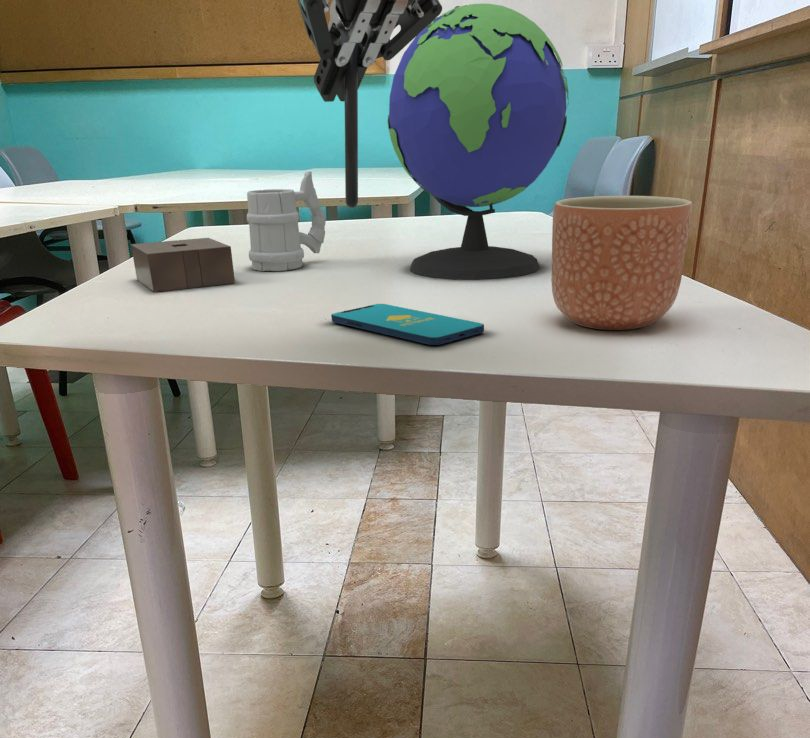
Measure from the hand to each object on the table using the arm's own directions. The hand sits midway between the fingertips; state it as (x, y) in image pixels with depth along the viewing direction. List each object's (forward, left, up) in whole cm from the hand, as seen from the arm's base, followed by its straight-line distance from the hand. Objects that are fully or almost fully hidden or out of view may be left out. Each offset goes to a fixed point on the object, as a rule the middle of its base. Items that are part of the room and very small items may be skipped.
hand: (331, 93), depth 69 cm
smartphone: (+5, -2, -20) cm, 21 cm away
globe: (+29, +24, -20) cm, 43 cm away
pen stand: (-7, +37, -20) cm, 42 cm away
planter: (+23, -11, -20) cm, 33 cm away
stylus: (0, -2, -9) cm, 9 cm away
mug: (+9, +41, -20) cm, 46 cm away
